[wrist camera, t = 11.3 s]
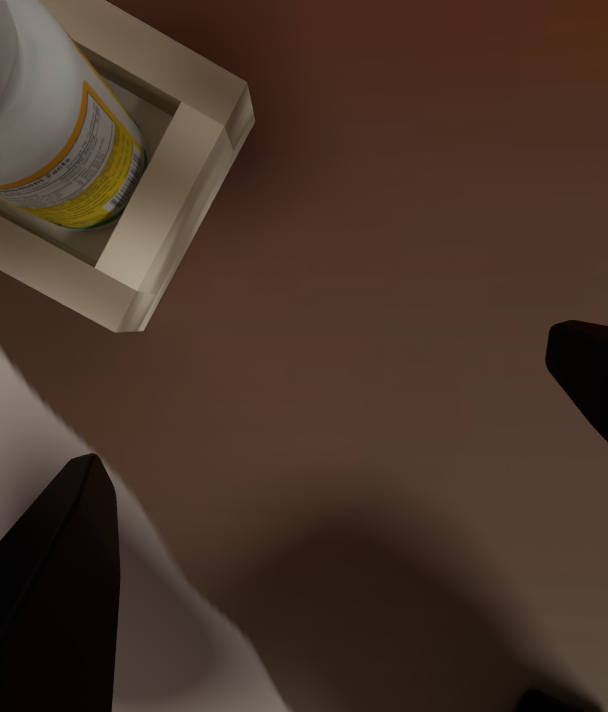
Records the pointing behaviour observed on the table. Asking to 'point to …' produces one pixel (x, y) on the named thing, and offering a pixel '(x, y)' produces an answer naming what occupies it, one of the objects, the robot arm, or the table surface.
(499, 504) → the table surface
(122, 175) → the supplement bottle
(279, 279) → the table surface
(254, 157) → the table surface
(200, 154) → the holder
